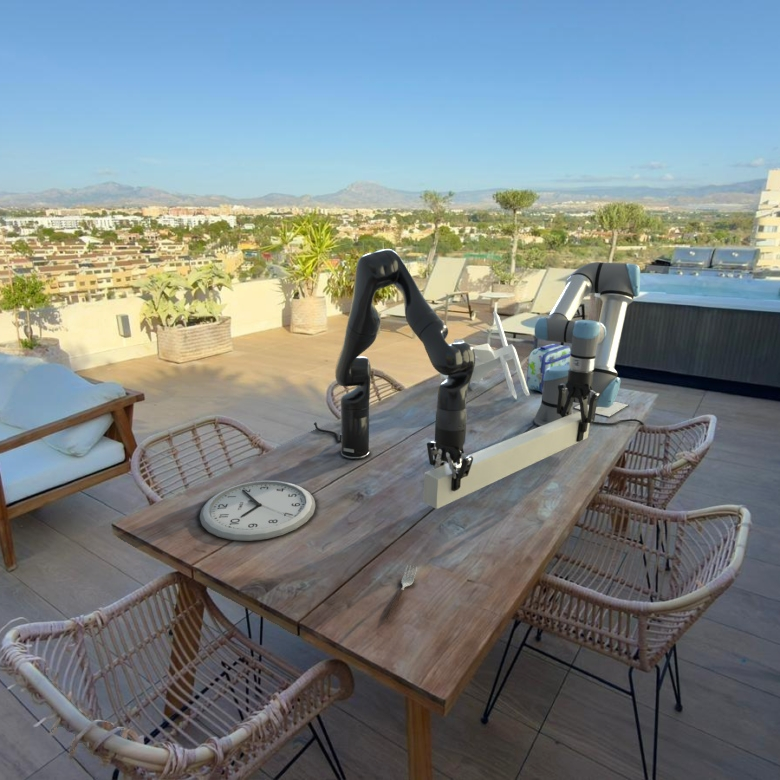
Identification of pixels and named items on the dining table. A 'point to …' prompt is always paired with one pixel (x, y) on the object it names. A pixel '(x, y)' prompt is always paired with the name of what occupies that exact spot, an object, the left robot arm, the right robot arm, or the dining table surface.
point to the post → (502, 460)
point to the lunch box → (545, 363)
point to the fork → (405, 582)
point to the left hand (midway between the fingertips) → (447, 485)
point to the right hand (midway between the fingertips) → (572, 437)
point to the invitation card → (608, 409)
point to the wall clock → (257, 510)
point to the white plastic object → (495, 360)
